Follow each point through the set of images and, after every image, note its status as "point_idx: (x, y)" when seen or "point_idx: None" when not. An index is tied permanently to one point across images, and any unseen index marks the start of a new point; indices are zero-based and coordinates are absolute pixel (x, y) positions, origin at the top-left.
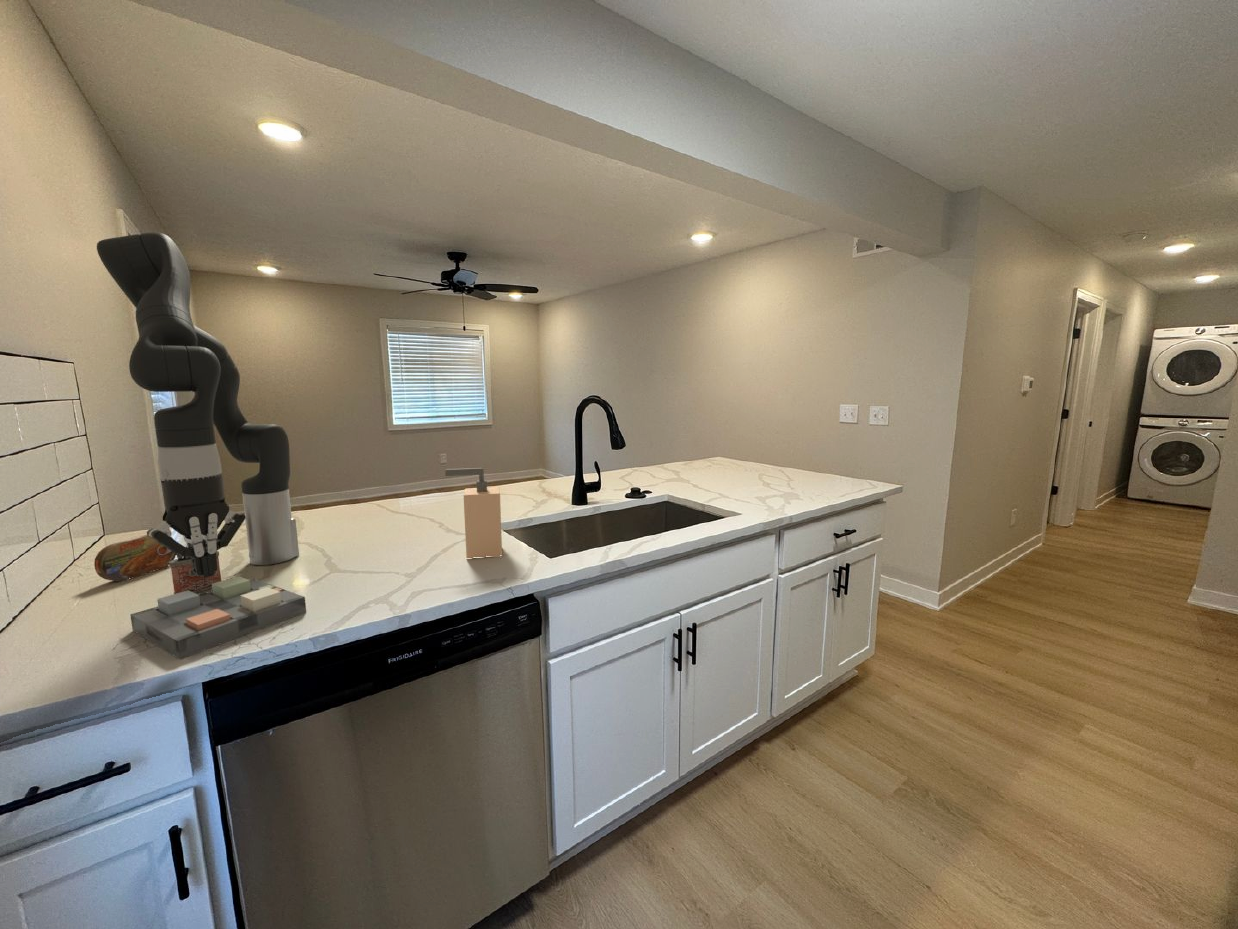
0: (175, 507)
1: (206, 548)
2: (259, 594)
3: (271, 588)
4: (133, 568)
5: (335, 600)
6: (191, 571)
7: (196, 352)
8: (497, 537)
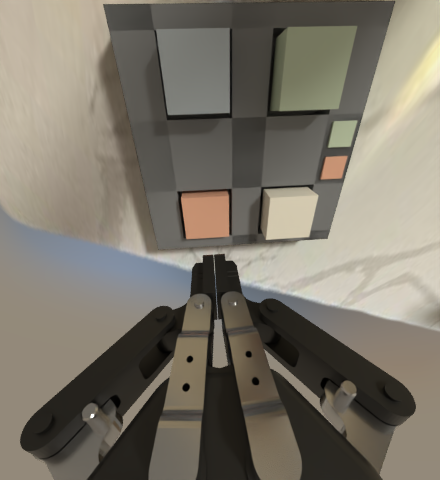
0: None
1: (223, 332)
2: (287, 221)
3: (343, 146)
4: None
5: (361, 219)
6: None
7: None
8: None
